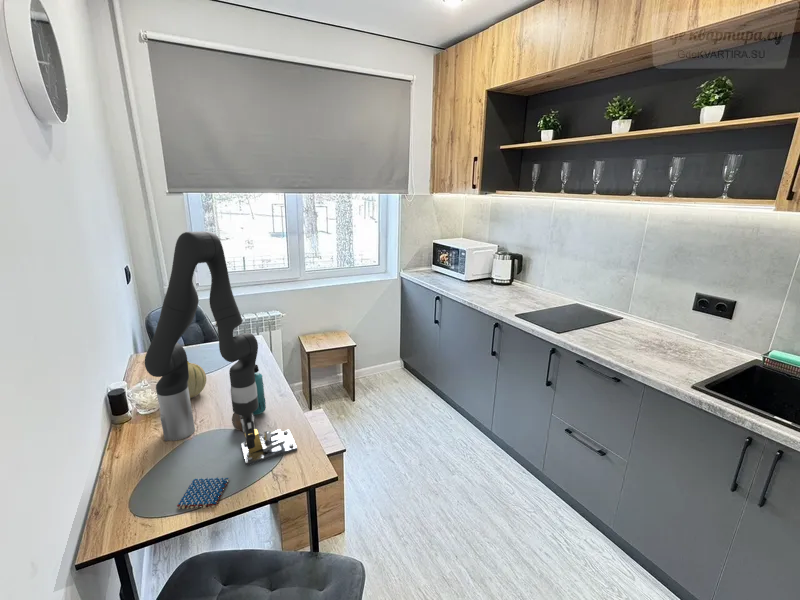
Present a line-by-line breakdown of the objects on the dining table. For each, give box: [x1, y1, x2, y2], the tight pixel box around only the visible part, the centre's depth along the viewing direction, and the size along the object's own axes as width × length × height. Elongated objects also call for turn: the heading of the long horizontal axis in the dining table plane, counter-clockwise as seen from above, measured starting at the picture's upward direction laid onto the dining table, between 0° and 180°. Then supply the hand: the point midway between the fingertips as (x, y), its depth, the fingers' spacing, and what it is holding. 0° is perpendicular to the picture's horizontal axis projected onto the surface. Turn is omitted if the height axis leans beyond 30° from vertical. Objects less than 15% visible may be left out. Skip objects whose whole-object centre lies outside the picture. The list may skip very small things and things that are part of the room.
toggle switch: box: [240, 429, 298, 466], centre depth 127 cm, size 16×11×6 cm
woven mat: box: [176, 476, 230, 510], centre depth 108 cm, size 10×11×2 cm
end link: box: [243, 428, 285, 454], centre depth 126 cm, size 11×7×6 cm, turn 119°
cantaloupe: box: [188, 361, 207, 399], centre depth 156 cm, size 15×15×15 cm
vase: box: [231, 412, 243, 432], centre depth 137 cm, size 7×7×9 cm
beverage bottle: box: [253, 363, 267, 415], centre depth 144 cm, size 6×7×20 cm
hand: (249, 440), depth 123 cm, fingers open, 8 cm apart
